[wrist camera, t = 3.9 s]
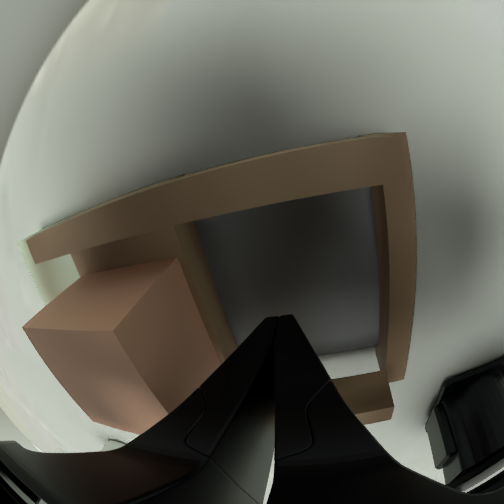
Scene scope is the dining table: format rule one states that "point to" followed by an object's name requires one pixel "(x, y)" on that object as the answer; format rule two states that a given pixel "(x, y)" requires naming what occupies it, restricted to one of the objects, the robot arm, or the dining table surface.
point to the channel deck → (271, 250)
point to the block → (126, 343)
